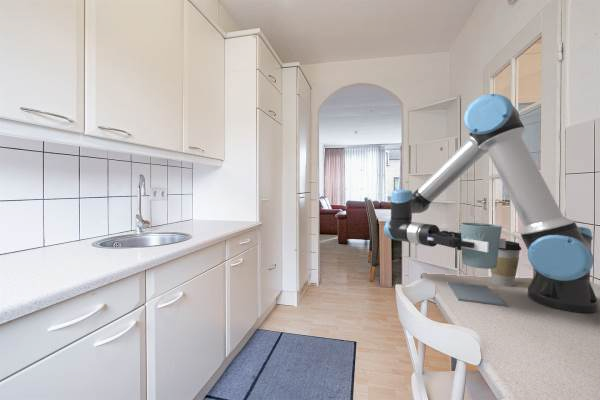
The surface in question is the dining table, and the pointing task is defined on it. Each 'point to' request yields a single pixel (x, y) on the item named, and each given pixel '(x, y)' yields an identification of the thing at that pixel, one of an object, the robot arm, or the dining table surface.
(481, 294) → the slate mat
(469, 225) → the embossed teal cup
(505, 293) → the dining table surface
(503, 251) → the coffee cup
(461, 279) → the dining table surface
